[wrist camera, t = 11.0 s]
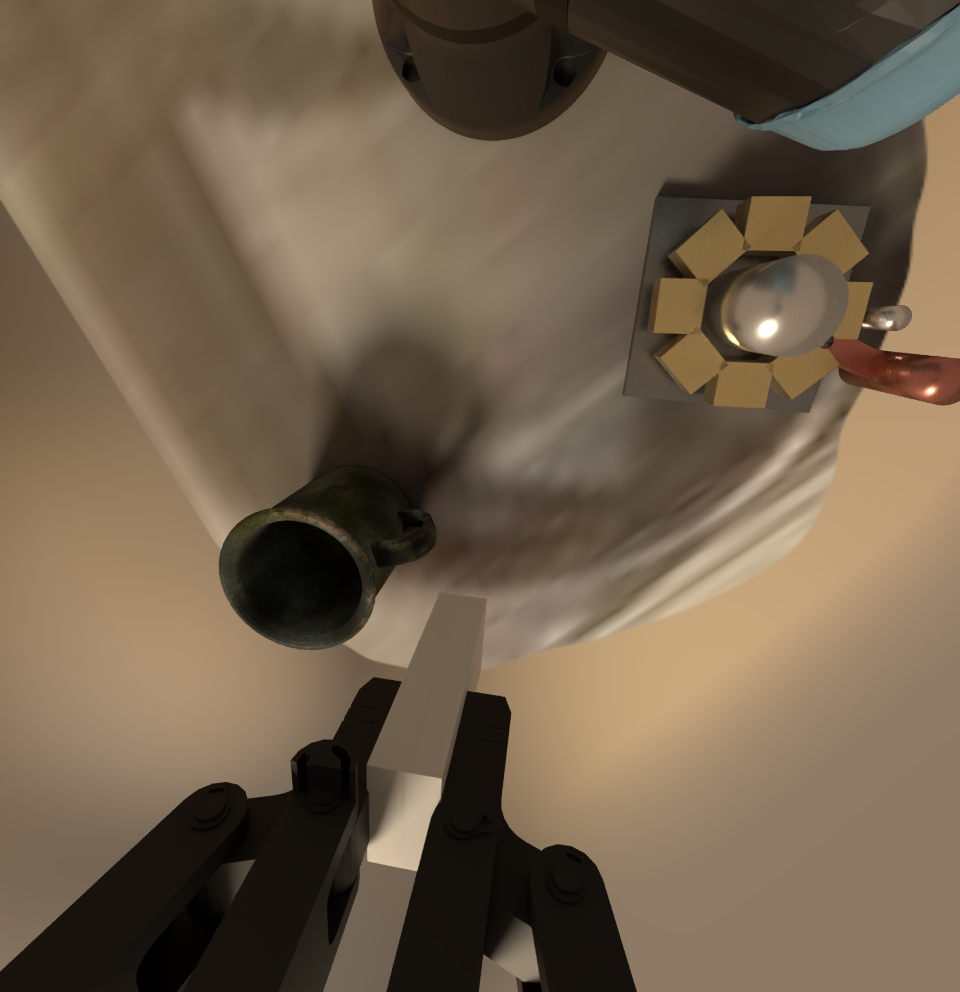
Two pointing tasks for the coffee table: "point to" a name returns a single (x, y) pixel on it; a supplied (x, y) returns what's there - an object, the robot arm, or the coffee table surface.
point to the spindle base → (662, 267)
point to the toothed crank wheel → (747, 382)
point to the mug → (321, 557)
